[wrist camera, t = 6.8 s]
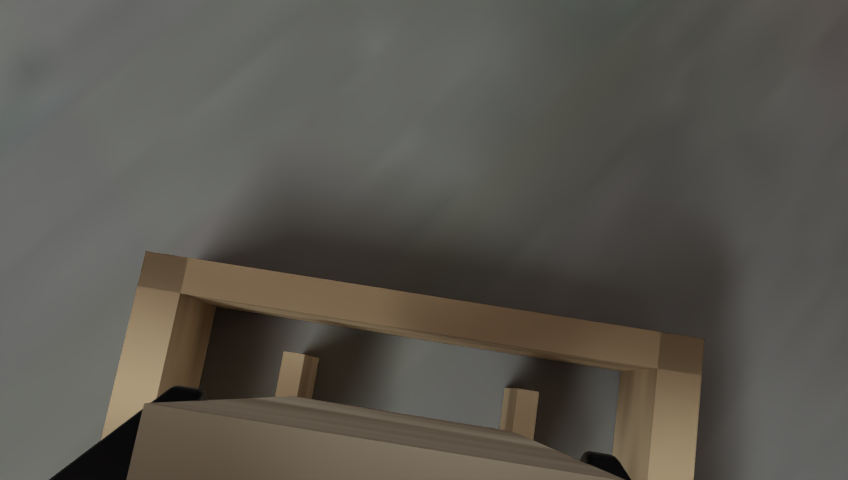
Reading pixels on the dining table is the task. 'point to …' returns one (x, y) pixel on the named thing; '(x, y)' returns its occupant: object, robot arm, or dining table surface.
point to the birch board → (332, 445)
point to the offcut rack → (421, 319)
